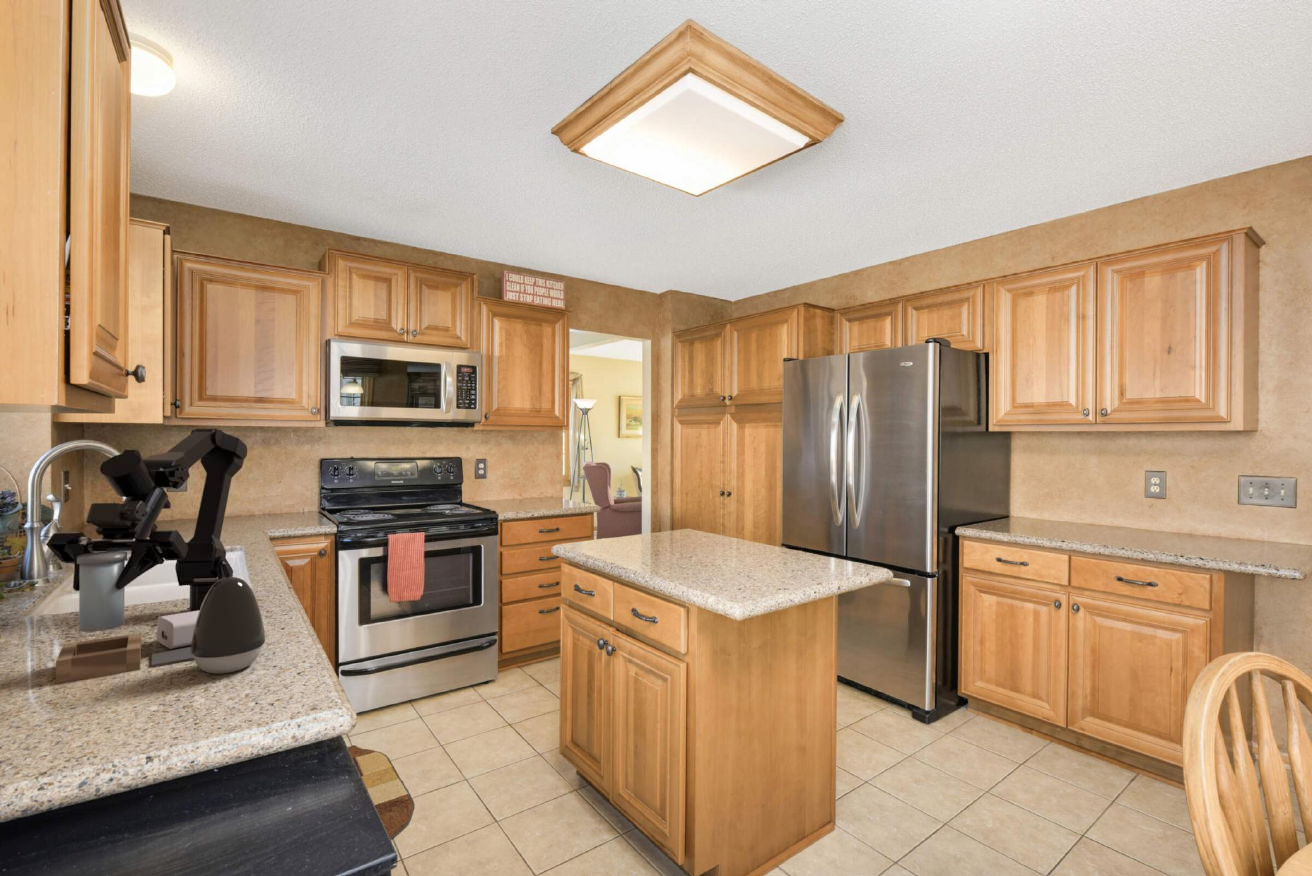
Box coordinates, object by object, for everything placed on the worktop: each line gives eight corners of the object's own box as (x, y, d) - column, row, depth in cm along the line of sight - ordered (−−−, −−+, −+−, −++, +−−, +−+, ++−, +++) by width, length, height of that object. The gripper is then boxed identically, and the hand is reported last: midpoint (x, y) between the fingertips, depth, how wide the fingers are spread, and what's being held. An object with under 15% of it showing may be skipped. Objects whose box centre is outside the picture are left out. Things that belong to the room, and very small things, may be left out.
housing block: (63, 665, 103) (63, 644, 103) (141, 652, 110) (141, 633, 110) (55, 683, 96) (56, 661, 96) (139, 669, 102) (140, 648, 102)
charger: (265, 632, 122) (172, 650, 110) (246, 624, 127) (156, 641, 115) (266, 607, 122) (173, 623, 110) (247, 601, 127) (157, 615, 115)
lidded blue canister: (78, 625, 103) (78, 553, 103) (127, 618, 107) (127, 549, 107) (74, 634, 98) (75, 560, 98) (125, 627, 102) (126, 555, 102)
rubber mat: (151, 655, 108) (151, 653, 108) (201, 647, 113) (201, 645, 113) (151, 667, 103) (151, 664, 103) (203, 658, 107) (203, 655, 107)
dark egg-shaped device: (256, 652, 110) (257, 568, 110) (271, 668, 103) (272, 577, 103) (185, 667, 103) (186, 576, 103) (196, 685, 96) (197, 587, 96)
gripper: (55, 485, 105) (0, 563, 94) (180, 484, 109) (141, 559, 98) (86, 524, 112) (39, 601, 102) (202, 523, 116) (168, 596, 105)
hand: (96, 589), depth 101 cm, fingers closed on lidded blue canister, 6 cm apart
